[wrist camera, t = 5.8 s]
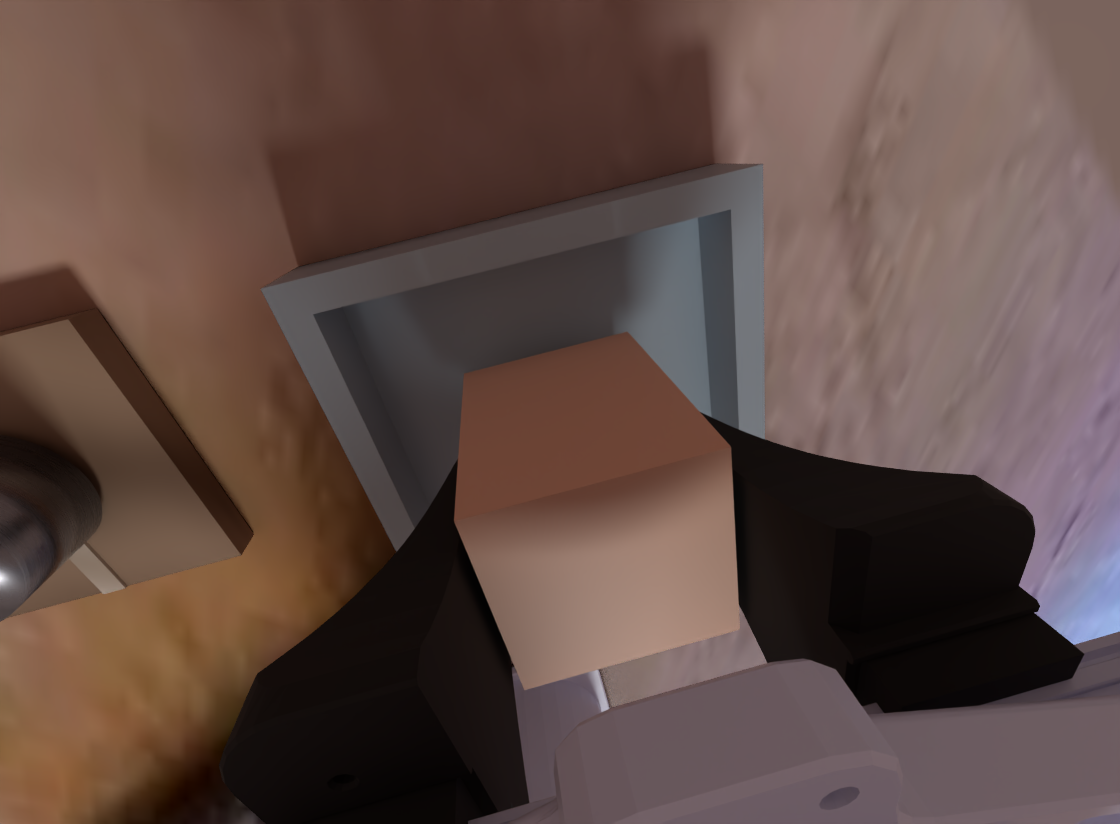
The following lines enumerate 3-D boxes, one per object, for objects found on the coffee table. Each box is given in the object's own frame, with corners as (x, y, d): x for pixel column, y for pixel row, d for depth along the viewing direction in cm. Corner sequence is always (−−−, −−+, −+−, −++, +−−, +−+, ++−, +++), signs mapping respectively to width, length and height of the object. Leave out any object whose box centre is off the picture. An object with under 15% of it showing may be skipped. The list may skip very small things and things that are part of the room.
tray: (731, 492, 19) (765, 536, 17) (440, 571, 18) (435, 627, 16) (715, 163, 13) (762, 164, 11) (297, 267, 13) (260, 288, 11)
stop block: (647, 466, 15) (739, 629, 10) (507, 504, 15) (524, 689, 10) (627, 331, 13) (731, 446, 8) (463, 373, 13) (454, 521, 7)
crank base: (253, 534, 16) (239, 557, 15) (16, 597, 16) (-14, 625, 15) (96, 308, 13) (64, 320, 12) (-219, 385, 12) (-278, 405, 11)
